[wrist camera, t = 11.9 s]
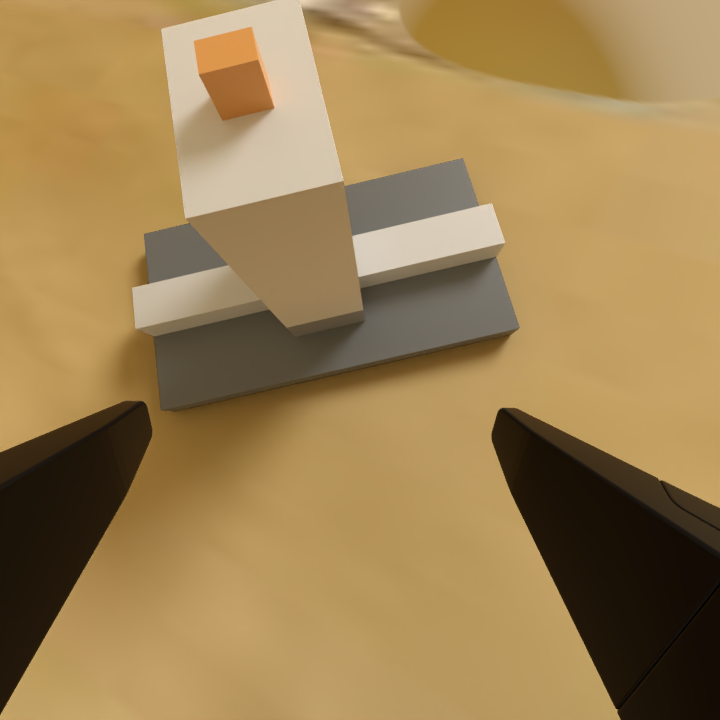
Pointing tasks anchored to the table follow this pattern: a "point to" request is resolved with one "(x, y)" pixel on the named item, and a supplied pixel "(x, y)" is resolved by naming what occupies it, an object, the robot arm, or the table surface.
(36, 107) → the table surface
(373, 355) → the mounting board
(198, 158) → the block
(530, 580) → the table surface
